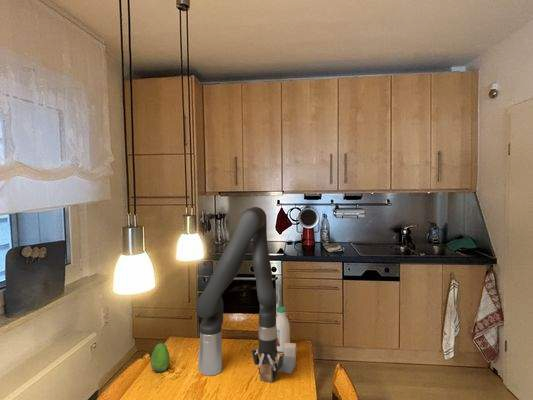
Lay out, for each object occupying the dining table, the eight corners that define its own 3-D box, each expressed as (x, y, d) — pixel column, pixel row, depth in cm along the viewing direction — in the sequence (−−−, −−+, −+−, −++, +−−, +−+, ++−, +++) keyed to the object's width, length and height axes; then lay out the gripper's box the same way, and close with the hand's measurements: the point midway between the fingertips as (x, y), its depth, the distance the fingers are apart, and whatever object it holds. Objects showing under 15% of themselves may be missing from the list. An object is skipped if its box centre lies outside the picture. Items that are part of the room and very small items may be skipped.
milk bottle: (289, 344, 172) (288, 304, 171) (290, 352, 164) (290, 310, 163) (273, 345, 171) (272, 305, 171) (274, 352, 164) (273, 311, 163)
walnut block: (260, 380, 141) (259, 365, 141) (265, 374, 145) (265, 360, 145) (271, 383, 139) (271, 368, 139) (276, 377, 143) (276, 362, 143)
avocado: (168, 374, 146) (167, 346, 146) (149, 376, 145) (148, 348, 145) (171, 364, 154) (170, 338, 154) (153, 366, 153) (152, 339, 153)
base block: (275, 371, 148) (275, 362, 148) (280, 363, 155) (280, 354, 154) (290, 374, 145) (290, 365, 145) (295, 366, 152) (295, 357, 152)
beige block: (283, 360, 156) (283, 347, 156) (285, 355, 161) (285, 342, 161) (295, 361, 155) (294, 348, 155) (296, 356, 160) (295, 343, 160)
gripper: (247, 336, 141) (248, 377, 142) (280, 342, 135) (280, 385, 136) (256, 329, 148) (256, 368, 149) (287, 335, 142) (288, 376, 142)
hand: (268, 376), depth 142 cm, fingers closed on walnut block, 5 cm apart
